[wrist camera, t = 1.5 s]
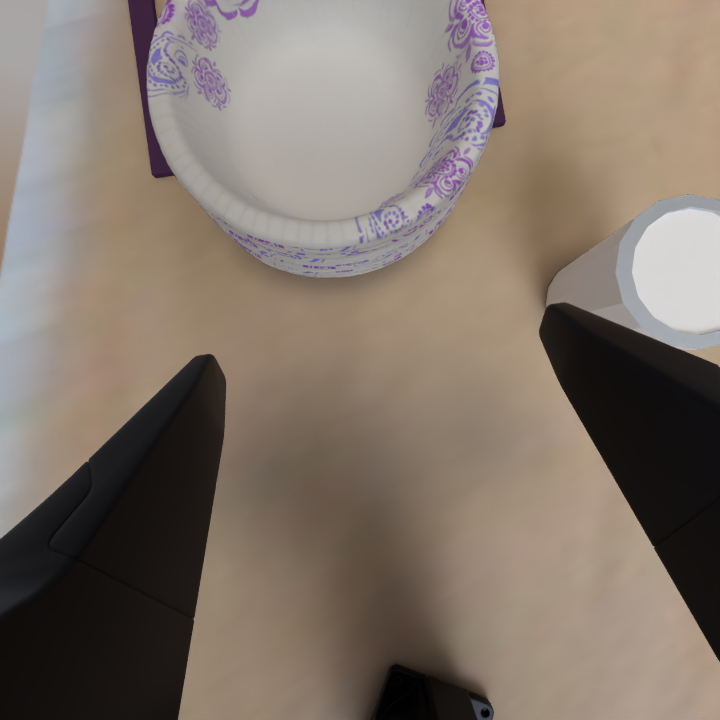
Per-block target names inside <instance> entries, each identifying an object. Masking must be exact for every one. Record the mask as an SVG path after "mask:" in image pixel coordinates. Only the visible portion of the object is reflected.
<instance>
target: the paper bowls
mask: <svg viewBox="0 0 720 720" xmlns="http://www.w3.org/2000/svg"><path fill="white" fill-rule="evenodd" d="M498 94H499V62H498V53H497V48H496V42H495V37H494V33H493V31H492V27H491V23H490V20H489V17H488V15H487V13H486V11H485V8H484V5H483V4H482V2H481V0H168V2H167V3H166V5H165V6H164V8H163V10H162V12H161V14H160V17H159V19H158V22H157V25H156V28H155V31H154V34H153V39H152V42H151V47H150V51H149V59H148V64H147V95H148V105H149V112H150V116H151V121H152V126H153V128H154V131H155V135H156V138H157V140H158V142H159V145H160V148H161V150H162V153H163V155H164V157H165V159H166V161H167V163H168V165H169V167H170V168H171V170H172V172H173V173H174V175H175V176H176V177H177V179H178V180H179V181H180V183H181V184H182V185H183V186H184V188H185V189H186V190H187V191H188V192H189V193H190V194H191V195H192V197H193V198H194V199H195V200H196V201H197V202H198V203H199V204H200V205H201V207H202V208H203V209H204V210H205V211H206V212H207V214H208V215H209V216H210V217H211V218H212V219H213V220H214V221H215V222H216V223H217V224H218V226H219V227H220V228H221V229H222V230H223V231H224V232H225V233H226V234H227V235H228V236H229V237H230V238H232V239H233V240H234V241H235V242H236V243H237V244H238V245H240V246H241V247H242V248H244V249H245V250H246V251H247V252H249V253H250V254H251V255H253V256H254V257H256V258H257V259H259V260H260V261H262V262H264V263H265V264H267V265H269V266H272V267H274V268H277V269H279V270H282V271H286V272H290V273H294V274H298V275H303V276H310V277H320V278H323V277H348V276H354V275H360V274H365V273H368V272H371V271H374V270H378V269H380V268H383V267H385V266H387V265H390V264H392V263H394V262H396V261H398V260H400V259H402V258H403V257H405V256H407V255H408V254H410V253H411V252H412V251H414V250H415V249H416V248H418V247H419V246H420V245H422V244H423V243H424V242H425V241H426V240H427V239H428V238H429V237H430V236H431V235H432V234H433V233H434V232H435V231H436V230H437V228H438V227H439V226H440V225H441V224H442V223H443V221H444V220H445V219H446V218H447V216H448V215H449V214H450V212H451V211H452V209H453V207H454V206H455V204H456V202H457V200H458V198H459V197H460V195H461V194H462V192H463V190H464V189H465V186H466V184H467V182H468V180H469V178H470V176H471V174H472V173H473V171H474V169H475V168H476V166H477V164H478V162H479V161H480V158H481V156H482V154H483V152H484V150H485V147H486V144H487V141H488V139H489V135H490V132H491V129H492V125H493V121H494V117H495V114H496V109H497V104H498Z"/></svg>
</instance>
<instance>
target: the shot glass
mask: <svg viewBox="0 0 720 720" xmlns="http://www.w3.org/2000/svg"><path fill="white" fill-rule="evenodd" d="M561 302H566V303H569V304H571V305H574V306H576V307H579V308H581V309H583V310H586V311H588V312H591V313H593V314H596V315H598V316H600V317H603V318H605V319H608V320H610V321H612V322H615V323H617V324H620V325H622V326H625V327H627V328H629V329H632V330H634V331H637V332H639V333H641V334H644V335H646V336H649V337H651V338H654V339H656V340H658V341H661V342H663V343H666V344H668V345H670V346H673V347H675V348H678V349H691V350H699V349H704V348H708V347H712V346H717V345H720V200H718V199H713V198H707V197H701V196H696V195H690V194H687V195H683V196H678V197H674V198H669V199H665V200H660V201H658V202H657V203H655V204H654V205H652V206H651V207H650V208H648V209H647V210H645V211H644V212H642V213H641V214H640V215H638V216H637V217H635V218H634V219H632V220H631V221H630V222H628V223H627V224H625V225H624V226H622V227H621V228H620V229H618V230H617V231H615V232H614V233H613V234H611V235H610V236H608V237H607V238H605V239H604V240H603V241H601V242H600V243H598V244H597V245H595V246H594V247H593V248H591V249H590V250H588V251H587V252H586V253H584V254H583V255H581V256H580V257H578V258H577V259H576V260H574V261H573V262H571V263H570V264H568V265H567V266H566V267H564V268H563V269H561V270H560V271H559V272H557V274H556V275H555V277H554V279H553V280H552V282H551V284H550V285H549V287H548V293H547V299H546V307H547V306H548V305H550V304H554V303H561Z"/></svg>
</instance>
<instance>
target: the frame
mask: <svg viewBox="0 0 720 720" xmlns="http://www.w3.org/2000/svg"><path fill="white" fill-rule="evenodd" d="M481 2H482V4H483V5H484V8H485V4H484V0H481ZM128 3H129V11H130V18H131V25H132V33H133V40H134V47H135V54H136V62H137V69H138V76H139V84H140V91H141V98H142V105H143V113H144V120H145V127H146V134H147V142H148V149H149V156H150V164H151V171H152V175H153V176H154V177H155V178H157V177H164V176H171V175H174V173H173V172H172V170H171V168H170V167H169V165H168V163H167V161H166V159H165V157H164V155H163V153H162V150H161V148H160V145H159V142H158V140H157V138H156V135H155V131H154V128H153V126H152V121H151V116H150V112H149V105H148V95H147V64H148V59H149V51H150V47H151V42H152V39H153V34H154V31H155V28H156V25H157V18H156V11H155V4H154V0H128ZM485 11H486V9H485ZM505 122H506V120H505V115H504V109H503V104H502V98H501V93H500V87H499V94H498V104H497V109H496V114H495V117H494V121H493V125H492V127H498V126H503V125H504V124H505Z"/></svg>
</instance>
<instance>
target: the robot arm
mask: <svg viewBox="0 0 720 720" xmlns="http://www.w3.org/2000/svg"><path fill="white" fill-rule="evenodd" d="M539 335H540V339H541V341H542V343H543V346H544V348H545V351H546V353H547V355H548V358H549V360H550V362H551V365H552V367H553V369H554V372H555V374H556V376H557V379H558V381H559V383H560V385H561V387H562V389H563V390H564V392H565V394H566V396H567V397H568V399H569V401H570V403H571V404H572V406H573V408H574V410H575V411H576V413H577V415H578V417H579V418H580V420H581V422H582V424H583V425H584V427H585V429H586V430H587V432H588V434H589V436H590V437H591V439H592V441H593V443H594V444H595V446H596V448H597V450H598V451H599V453H600V455H601V457H602V458H603V460H604V462H605V463H606V465H607V467H608V469H609V470H610V472H611V474H612V476H613V477H614V479H615V481H616V483H617V484H618V486H619V488H620V490H621V491H622V493H623V495H624V497H625V498H626V500H627V502H628V503H629V505H630V507H631V509H632V510H633V512H634V514H635V516H636V517H637V519H638V521H639V523H640V524H641V526H642V528H643V530H644V531H645V533H646V535H647V536H648V538H649V540H650V542H651V543H652V545H653V546H654V549H655V551H656V553H657V554H658V556H659V558H660V560H661V561H662V563H663V565H664V567H665V568H666V570H667V572H668V573H669V575H670V577H671V579H672V580H673V582H674V584H675V586H676V587H677V589H678V591H679V593H680V594H681V596H682V598H683V599H684V601H685V603H686V605H687V606H688V608H689V610H690V612H691V613H692V615H693V617H694V619H695V620H696V622H697V624H698V626H699V627H700V629H701V631H702V632H703V634H704V636H705V638H706V639H707V641H708V643H709V645H710V646H711V648H712V650H713V652H714V653H715V655H716V657H717V658H718V660H719V662H720V367H719V366H718V365H716V364H714V363H712V362H709V361H707V360H704V359H702V358H700V357H697V356H695V355H692V354H690V353H687V352H685V351H683V350H680V349H678V348H675V347H673V346H670V345H668V344H666V343H663V342H661V341H658V340H656V339H654V338H651V337H649V336H646V335H644V334H641V333H639V332H637V331H634V330H632V329H629V328H627V327H625V326H622V325H620V324H617V323H615V322H612V321H610V320H608V319H605V318H603V317H600V316H598V315H596V314H593V313H591V312H588V311H586V310H583V309H581V308H579V307H576V306H574V305H571V304H569V303H566V302H561V303H554V304H550V305H548V306H547V308H546V310H545V313H544V316H543V319H542V322H541V326H540V329H539ZM225 401H226V379H225V376H224V374H223V372H222V370H221V368H220V366H219V364H218V362H217V360H216V358H215V357H214V356H213V355H211V354H206V355H199V356H196V357H194V358H193V359H192V360H191V361H190V362H189V363H188V364H187V365H186V366H185V367H184V368H183V369H182V370H181V371H180V372H179V373H177V374H176V375H175V376H174V377H173V378H172V379H171V380H170V381H169V382H168V383H167V384H166V385H165V386H164V387H163V388H162V389H161V390H160V391H159V392H158V393H157V394H156V395H155V396H154V397H153V398H152V399H151V400H150V401H149V402H148V403H146V404H145V405H144V406H143V407H142V408H141V409H140V410H139V411H138V412H137V413H136V414H135V415H134V416H133V417H132V418H131V419H130V420H129V421H128V422H127V423H126V424H125V425H124V426H123V427H122V428H121V429H120V430H119V431H118V432H116V433H115V434H114V435H113V436H112V437H111V438H110V439H109V440H108V441H107V442H106V443H105V444H104V445H103V446H102V447H101V448H100V449H99V450H98V451H97V452H96V453H95V454H94V455H93V456H92V457H91V458H90V459H89V462H85V463H84V464H83V465H82V466H81V467H80V468H79V469H78V470H77V471H76V472H75V473H74V474H73V475H72V476H71V477H70V478H69V479H68V480H67V481H65V482H64V483H63V484H62V485H61V486H60V487H59V488H58V489H57V490H56V491H55V492H54V493H53V494H52V495H50V496H49V497H48V498H47V499H46V500H45V501H44V502H43V503H41V504H40V505H39V506H38V507H37V508H36V509H35V510H33V511H32V512H31V513H30V514H29V515H28V516H27V517H26V518H24V519H23V520H22V521H21V522H20V523H19V524H17V525H16V526H15V527H14V528H13V529H12V530H10V531H9V532H8V533H7V534H6V535H5V536H3V537H2V538H1V539H0V720H178V716H179V710H180V704H181V697H182V691H183V685H184V679H185V673H186V667H187V661H188V655H189V649H190V642H191V636H192V630H193V624H194V620H193V619H194V617H195V611H196V604H197V598H198V592H199V586H200V580H201V574H202V568H203V562H204V556H205V549H206V543H207V537H208V531H209V525H210V519H211V513H212V507H213V501H214V494H215V488H216V482H217V476H218V470H219V464H220V458H221V452H222V446H223V439H224V428H225ZM395 675H399V677H398V678H394V676H395ZM484 708H485V709H486V710H485V711H482V709H484ZM493 715H494V711H493V708H492V705H491V703H490V702H489V700H487V699H486V698H483V697H481V696H478V695H476V694H473V693H470V692H468V691H467V690H465V689H462V688H460V687H457V686H454V685H452V684H449V683H447V682H444V681H441V680H439V679H436V678H433V677H431V676H426V675H423V674H420V673H418V672H415V671H413V670H410V669H407V668H405V667H402V666H399V665H394V666H392V667H390V669H389V670H388V673H387V676H386V679H385V682H384V684H383V687H382V690H381V693H380V696H379V698H378V701H377V704H376V707H375V710H374V712H373V715H372V718H371V720H492V719H493Z"/></svg>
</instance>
